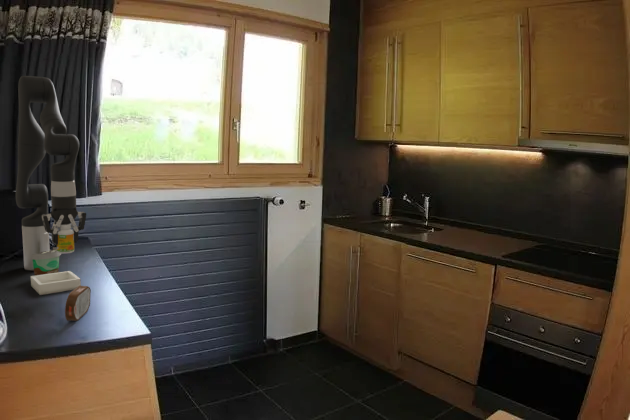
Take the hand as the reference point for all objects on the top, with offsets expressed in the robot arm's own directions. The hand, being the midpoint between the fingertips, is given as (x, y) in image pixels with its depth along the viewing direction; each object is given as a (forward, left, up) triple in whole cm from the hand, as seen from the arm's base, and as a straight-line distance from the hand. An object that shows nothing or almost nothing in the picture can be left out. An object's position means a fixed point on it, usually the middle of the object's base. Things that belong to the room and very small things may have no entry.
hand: (65, 243), depth 182 cm
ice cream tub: (-21, 0, -17) cm, 27 cm away
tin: (+29, -4, -17) cm, 34 cm away
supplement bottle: (0, 0, -3) cm, 3 cm away
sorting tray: (-6, -2, -16) cm, 18 cm away
